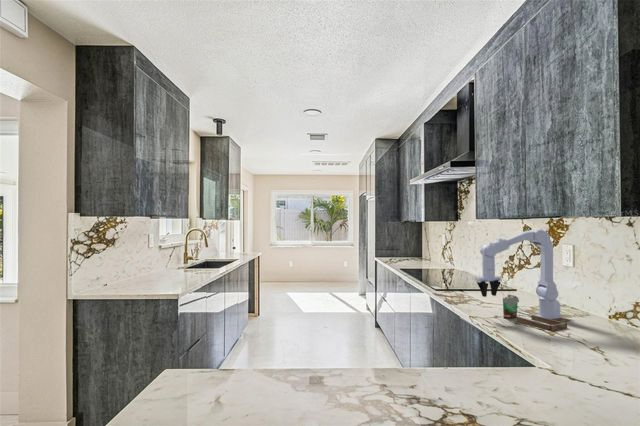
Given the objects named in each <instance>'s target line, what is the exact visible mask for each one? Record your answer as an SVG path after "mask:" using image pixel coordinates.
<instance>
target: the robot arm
mask: <svg viewBox="0 0 640 426" xmlns="http://www.w3.org/2000/svg"><path fill="white" fill-rule="evenodd" d="M524 241H528V242H530V243H533V244H535V245H536V246H537V247H538V248H540V277H539V278H540V279H539V281H538V282H537V287H535V293H536V294H537V296H538V314H534V315H535V316H539V317H543V318H547V319H551V320H555V319H556V320H557V319H561V318H563V316H561V303H560V301H559V300H558V296H559V291H558V289H557V284H556V283H555V281H554V243H553V242H552V240H551V238H550V233H548V232H547V231H546V230H543V229H529V230H525V231H523V232H521V233H519V234H518V233H517V234H516V235H514V236H512V237H509V238H507V239H505V238H498V239H497V240H496V241H493V242H489V244H483V246H482V247H481V248H480V250H479V253H480V254H481V255H482V257H481V259H482V260H481V262H482V265H481V267H482V276H481V277H476V284H477V286H478V287H479V289H480V290H479V291H480V293H481V296H482V297H484V298H487V296H488V295H487V294H488V287H489V285H490V293H491V296H493V297H496V296H497V292H498V290H499V287H500V285H501V282H502V277H501V276H496V266H495V265H496V263H495V258H496V257H495V256H496V255H497V254H500V253H502V252H504V251H507V250H509V249H510V247H511V246H513V245H515V244H519V243H521V242H524Z"/></svg>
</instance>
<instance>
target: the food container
mask: <svg viewBox="0 0 640 426" xmlns="http://www.w3.org/2000/svg"><path fill="white" fill-rule="evenodd" d="M518 297H519V296H517V295H512V294H507V296H506V297H503V298H502V311H503V319H509V320H510V319H512V320H513V319H517V317H518V305H519V304H518V303H519V302H520V300H519V298H518Z"/></svg>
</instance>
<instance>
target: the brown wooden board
mask: <svg viewBox="0 0 640 426" xmlns="http://www.w3.org/2000/svg"><path fill="white" fill-rule="evenodd" d="M535 315H536V314H531V316H530V317H531V320H530V319H528V318H523V317H519V316H517V318H516V323H521V324H525V325H528V326H532V327H535V328H537V329H538V328H539V329H543V330H547V331H556V330H562V329H563V330H564V329H567V328H568V322H563V321H558V320H555V319H547V318H543V317H539V316H535Z"/></svg>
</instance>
